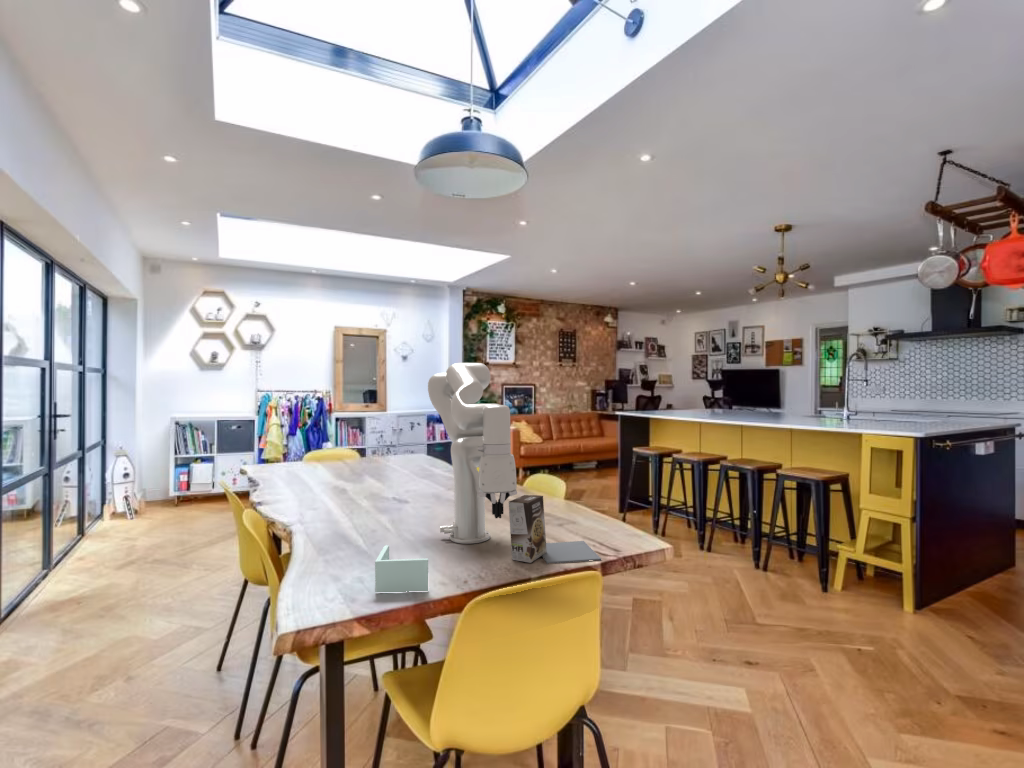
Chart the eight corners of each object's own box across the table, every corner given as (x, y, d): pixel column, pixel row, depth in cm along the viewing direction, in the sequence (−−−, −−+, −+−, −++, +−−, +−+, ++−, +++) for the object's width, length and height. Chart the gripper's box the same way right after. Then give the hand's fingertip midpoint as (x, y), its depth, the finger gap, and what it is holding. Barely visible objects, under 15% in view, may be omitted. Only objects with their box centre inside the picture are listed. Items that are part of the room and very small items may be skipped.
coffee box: (531, 563, 134) (527, 502, 134) (511, 560, 138) (507, 501, 138) (547, 552, 142) (544, 495, 142) (528, 549, 145) (524, 493, 145)
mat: (547, 564, 135) (547, 562, 135) (535, 545, 150) (534, 543, 150) (601, 560, 137) (601, 558, 137) (583, 542, 153) (583, 540, 153)
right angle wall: (428, 592, 117) (427, 559, 117) (375, 594, 116) (375, 561, 116) (432, 573, 129) (432, 543, 129) (385, 574, 128) (384, 545, 128)
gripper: (470, 452, 134) (471, 522, 134) (526, 450, 136) (527, 519, 136) (468, 449, 141) (469, 515, 141) (521, 447, 143) (522, 512, 143)
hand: (497, 516), depth 138 cm, fingers closed
